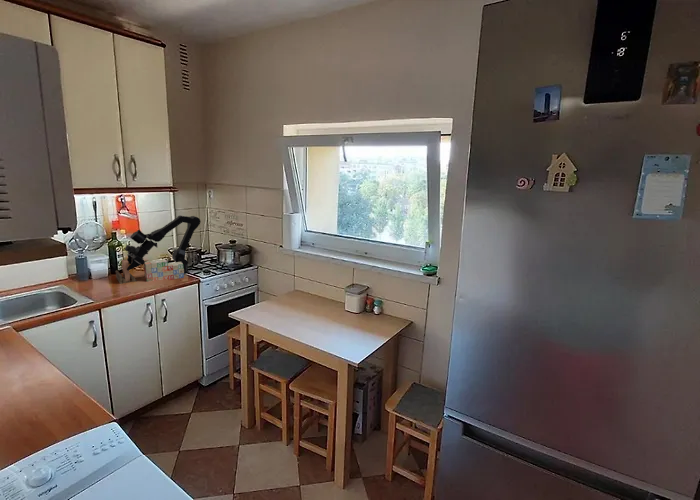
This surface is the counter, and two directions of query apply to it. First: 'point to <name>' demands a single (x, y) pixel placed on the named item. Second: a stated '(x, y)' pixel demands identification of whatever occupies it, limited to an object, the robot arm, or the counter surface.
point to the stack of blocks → (163, 270)
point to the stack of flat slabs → (121, 278)
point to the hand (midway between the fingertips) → (125, 268)
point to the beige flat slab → (125, 270)
